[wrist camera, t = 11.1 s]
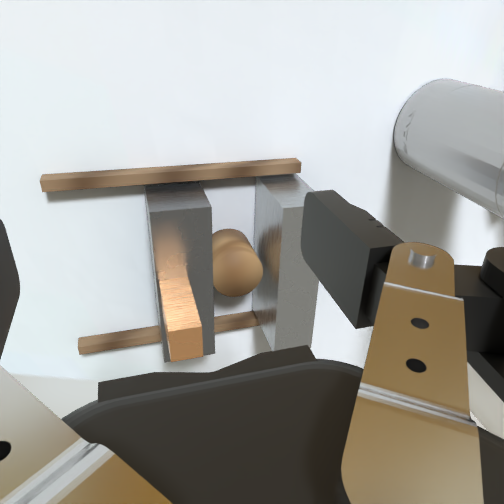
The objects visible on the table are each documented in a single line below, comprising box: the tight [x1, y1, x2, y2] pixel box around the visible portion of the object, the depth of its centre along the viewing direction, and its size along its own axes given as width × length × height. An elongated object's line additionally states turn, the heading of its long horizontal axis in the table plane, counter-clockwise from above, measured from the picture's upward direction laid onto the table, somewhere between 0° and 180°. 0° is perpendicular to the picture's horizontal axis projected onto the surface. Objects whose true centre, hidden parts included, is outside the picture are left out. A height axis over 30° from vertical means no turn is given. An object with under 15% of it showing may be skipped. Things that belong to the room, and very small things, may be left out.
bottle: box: [467, 362, 504, 439], centre depth 46 cm, size 8×8×30 cm
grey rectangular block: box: [252, 173, 319, 351], centre depth 44 cm, size 4×16×8 cm, turn 179°
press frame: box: [40, 158, 301, 355], centre depth 44 cm, size 23×19×2 cm
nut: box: [212, 229, 263, 297], centre depth 44 cm, size 5×5×5 cm
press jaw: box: [144, 181, 215, 362], centre depth 39 cm, size 5×16×13 cm, turn 179°
